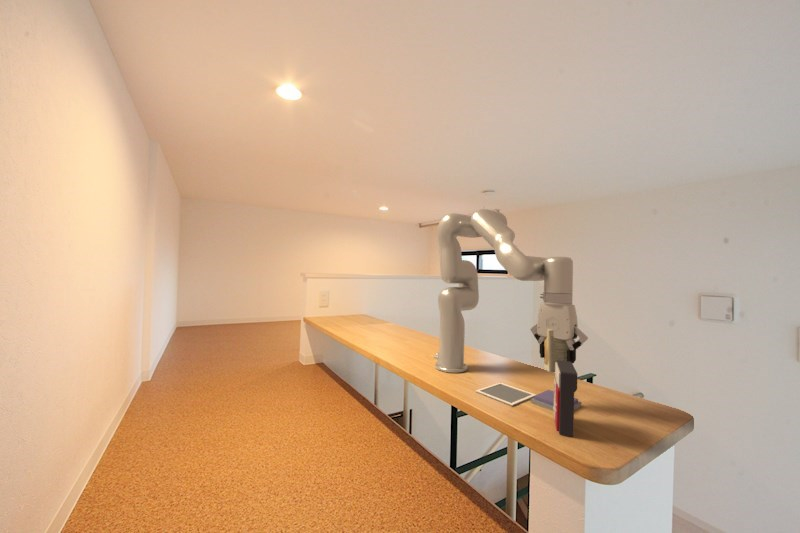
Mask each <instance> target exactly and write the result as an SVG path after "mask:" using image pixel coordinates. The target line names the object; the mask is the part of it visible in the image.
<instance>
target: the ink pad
mask: <svg viewBox="0 0 800 533" xmlns="http://www.w3.org/2000/svg"><path fill="white" fill-rule="evenodd" d="M529 400H530V404H534V405H537V406H539V407H542V408H545V409H548V410H550V411H552V412H554V410H553V407H554V390H551V389H548V390H545V391H543V392H540V393H537V394H536V395H535V396H534V397H533V398H531V399H529ZM581 407H582V402H581V401H579V398H577V397H574V411H576V410H577V409H579V408H581Z"/></svg>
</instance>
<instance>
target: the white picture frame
mask: <svg viewBox="0 0 800 533" xmlns="http://www.w3.org/2000/svg"><path fill="white" fill-rule="evenodd" d="M475 393H477V394H479V395H482V396H484V397H487V398H490V399H493V400H495V401H497V402H500V403H503V404H505V405H507V406H510V407H514V406H517V405H520V404H521V403H524V402H527V401H528V400H531V399H532V398H534V396H535V395H537V394H536V393H534V392H533V393H532V392H529V391H526V390H525V389H524V390H523V389H521V388H518V387H515V386H512V385H510V384H506V383H503V382H497V383H494V384H491V385H489V386H484V387H483V388H479V389H476V390H475Z"/></svg>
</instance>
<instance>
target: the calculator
mask: <svg viewBox="0 0 800 533" xmlns="http://www.w3.org/2000/svg"><path fill="white" fill-rule="evenodd" d="M573 364H574V363H572V362H568V361H559V360H557V362H555V372H554V375H555V377H553V391H554V407H553V410H554V411H553V418H554V423H555V429H556V431H557V432H558V434H559V435H561V436H566V437H572V438H573V437H574V428H575V426H574V421H575V420H574V419H575V417H574V416H575V415H574V414H575V412H574V411H575V410H574V398H575V393H576V392H577V390H578V372H577V370H576V368H575V366H574V365H573Z"/></svg>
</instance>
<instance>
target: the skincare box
mask: <svg viewBox="0 0 800 533" xmlns="http://www.w3.org/2000/svg"><path fill="white" fill-rule="evenodd" d="M567 350H569V347H568V345H567V343H566V341H564V340H558V339H555V338H553V330H550V329H548V330H547V337H545V339H544V358H543V360H544V361H543V365H544V366H543V367H544V369H545V371H547V372H548V373H555V362H557V360H559V361H567Z"/></svg>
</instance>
